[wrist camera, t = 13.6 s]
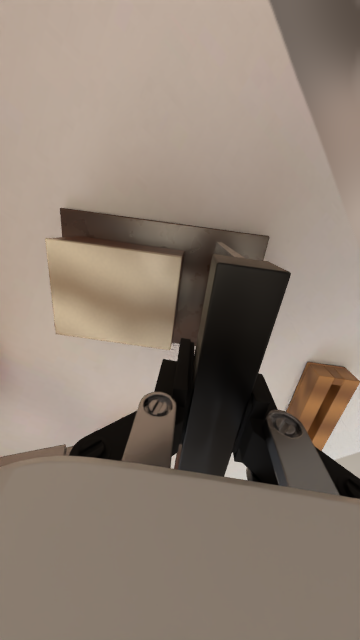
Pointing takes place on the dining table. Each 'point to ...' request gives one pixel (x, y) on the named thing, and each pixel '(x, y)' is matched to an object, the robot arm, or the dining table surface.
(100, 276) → the cake
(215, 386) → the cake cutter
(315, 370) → the knife block
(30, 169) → the dining table surface
